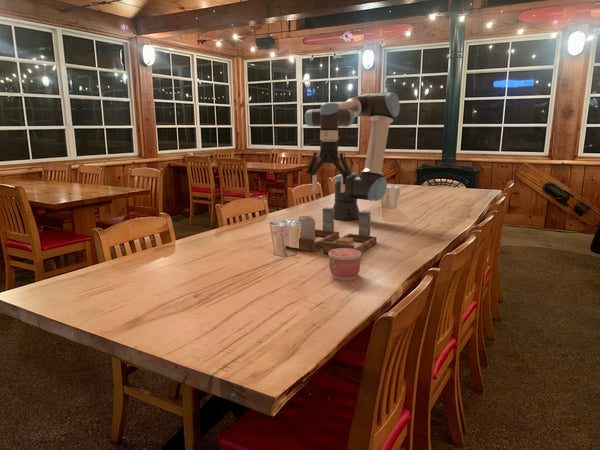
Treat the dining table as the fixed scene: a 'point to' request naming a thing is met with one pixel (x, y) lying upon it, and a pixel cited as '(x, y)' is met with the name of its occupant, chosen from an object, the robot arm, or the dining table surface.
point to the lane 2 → (355, 236)
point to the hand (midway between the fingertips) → (328, 191)
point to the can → (307, 227)
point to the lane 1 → (321, 232)
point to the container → (344, 263)
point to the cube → (346, 240)
